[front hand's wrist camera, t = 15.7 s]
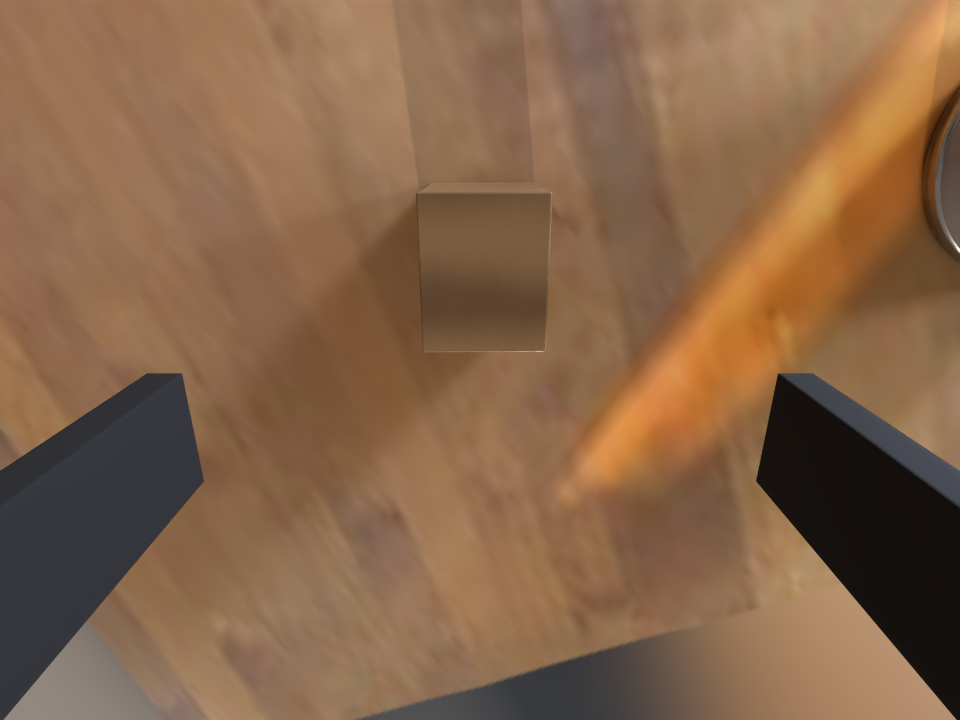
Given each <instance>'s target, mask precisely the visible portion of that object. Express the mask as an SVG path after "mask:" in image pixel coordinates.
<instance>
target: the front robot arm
mask: <svg viewBox="0 0 960 720" xmlns="http://www.w3.org/2000/svg"><path fill="white" fill-rule="evenodd" d="M203 482H204V480H203V475H202V470H201V465H200V460H199V455H198V450H197V445H196V440H195V435H194V430H193V426H192V421H191V416H190V411H189V406H188V401H187V396H186V391H185V386H184V381H183V376H182V374H146V375H144V376H143V377H141V378H140V379H138V380H137V381H135V382H134V383H132V384H131V385H129V386H128V387H126V388H125V389H123V390H122V391H120V392H119V393H117V394H116V395H114V396H113V397H111V398H110V399H108V400H107V401H105V402H103V403H102V404H100V405H99V406H97V407H96V408H94V409H93V410H91V411H90V412H88V413H87V414H85V415H84V416H82V417H81V418H79V419H78V420H76V421H75V422H73V423H72V424H70V425H69V426H67V427H66V428H64V429H63V430H61V431H60V432H58V433H57V434H55V435H54V436H52V437H51V438H49V439H48V440H46V441H45V442H43V443H42V444H40V445H39V446H37V447H36V448H34V449H33V450H31V451H30V452H28V453H27V454H25V455H24V456H22V457H21V458H19V459H18V460H16V461H15V462H13V463H12V464H10V465H9V466H7V467H6V468H4V469H3V470H1V471H0V720H4V718H5V717H6V716H7V715H8V714H9V712H10V711H11V710H12V709H13V708H14V706H15V705H16V704H17V703H18V702H19V700H20V699H21V698H22V697H23V696H24V695H25V693H26V692H27V691H28V690H29V689H30V687H31V686H32V685H33V684H34V683H35V681H36V680H37V679H38V678H39V677H40V676H41V674H42V673H43V672H44V671H45V670H46V668H47V667H48V666H49V665H50V664H51V662H52V661H53V660H54V659H55V658H56V656H57V655H58V654H59V653H60V652H61V651H62V649H63V648H64V647H65V646H66V645H67V643H68V642H69V641H70V640H71V639H72V637H73V636H74V635H75V634H76V633H77V632H78V630H79V629H80V628H81V627H82V626H83V624H84V623H85V622H86V621H87V620H88V618H89V617H90V616H91V615H92V614H93V612H94V611H95V610H96V609H97V608H98V607H99V605H100V604H101V603H102V602H103V601H104V599H105V598H106V597H107V596H108V595H109V593H110V592H111V591H112V590H113V589H114V587H115V586H116V585H117V584H118V583H119V582H120V580H121V579H122V578H123V577H124V576H125V574H126V573H127V572H128V571H129V570H130V568H131V567H132V566H133V565H134V564H135V563H136V561H137V560H138V559H139V558H140V557H141V555H142V554H143V553H144V552H145V551H146V549H147V548H148V547H149V546H150V545H151V543H152V542H153V541H154V540H155V539H156V538H157V536H158V535H159V534H160V533H161V532H162V530H163V529H164V528H165V527H166V526H167V524H168V523H169V522H170V521H171V520H172V518H173V517H174V516H175V515H176V514H177V513H178V511H179V510H180V509H181V508H182V507H183V505H184V504H185V503H186V502H187V501H188V499H189V498H190V497H191V496H192V495H193V493H194V492H195V491H196V490H197V489H198V488H199V486H200V485H201V484H202V483H203ZM756 482H757V483H758V484H759V485H760V486H761V488H762V489H763V490H764V491H765V492H766V493H767V495H768V496H769V497H770V498H771V499H772V501H773V502H774V503H775V504H776V505H777V507H778V508H779V509H780V510H781V511H782V513H783V514H784V515H785V516H786V517H787V518H788V520H789V521H790V522H791V523H792V524H793V526H794V527H795V528H796V529H797V530H798V532H799V533H800V534H801V535H802V536H803V538H804V539H805V540H806V541H807V542H808V543H809V545H810V546H811V547H812V548H813V549H814V551H815V552H816V553H817V554H818V555H819V557H820V558H821V559H822V560H823V561H824V563H825V564H826V565H827V566H828V567H829V568H830V570H831V571H832V572H833V573H834V574H835V576H836V577H837V578H838V579H839V580H840V582H841V583H842V584H843V585H844V586H845V587H846V589H847V590H848V591H849V592H850V593H851V595H852V596H853V597H854V598H855V599H856V601H857V602H858V603H859V604H860V605H861V606H862V608H863V609H864V610H865V611H866V612H867V614H868V615H869V616H870V617H871V618H872V620H873V621H874V622H875V623H876V624H877V625H878V627H879V628H880V629H881V630H882V631H883V633H884V634H885V635H886V636H887V637H888V639H889V640H890V641H891V642H892V643H893V645H894V646H895V647H896V648H897V649H898V651H899V652H900V653H901V654H902V655H903V656H904V658H905V659H906V660H907V661H908V662H909V664H910V665H911V666H912V667H913V668H914V670H915V671H916V672H917V673H918V674H919V676H920V677H921V678H922V679H923V680H924V681H925V683H926V684H927V685H928V686H929V687H930V689H931V690H932V691H933V692H934V693H935V695H936V696H937V697H938V698H939V699H940V700H941V702H942V703H943V704H944V705H945V706H946V708H947V709H948V710H949V711H950V712H951V714H952V715H953V716H954V717H955V718H956V720H960V471H959V470H957V469H956V468H954V467H953V466H951V465H950V464H948V463H947V462H945V461H944V460H942V459H941V458H939V457H938V456H936V455H935V454H933V453H932V452H930V451H929V450H927V449H926V448H924V447H923V446H921V445H920V444H918V443H917V442H915V441H914V440H912V439H911V438H909V437H908V436H906V435H905V434H903V433H902V432H900V431H899V430H897V429H896V428H894V427H893V426H891V425H890V424H888V423H887V422H885V421H884V420H882V419H881V418H879V417H878V416H876V415H875V414H873V413H872V412H870V411H869V410H867V409H866V408H864V407H863V406H861V405H860V404H858V403H857V402H855V401H853V400H852V399H850V398H849V397H847V396H846V395H844V394H843V393H841V392H840V391H838V390H837V389H835V388H834V387H832V386H831V385H829V384H828V383H826V382H825V381H823V380H822V379H820V378H819V377H817V376H816V375H814V374H778V376H777V381H776V386H775V391H774V396H773V401H772V406H771V411H770V416H769V421H768V426H767V430H766V435H765V440H764V445H763V450H762V455H761V460H760V465H759V470H758V475H757V479H756Z"/></svg>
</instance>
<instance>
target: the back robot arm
mask: <svg viewBox="0 0 960 720" xmlns="http://www.w3.org/2000/svg"><path fill="white" fill-rule="evenodd" d="M922 191H923V203H924V210H925V214H926V217H927V221H928V223H929V226H930V228H931V230H932V232H933V234H934V236H935V238H936V239H937V241H938V242H939V243H940V245H941V246H942V247H943V248H944V249H945V250H946V251H947V253H948V254H950V255H951V256H952V257H953V258H955V259H956V260H957V261H959V262H960V89H959V90H958V91H957V93H956V94H955V95H954V97H953V98H952V100H951V101H950V103H949V105H948V106H947V108H946V109H945V111H944V113H943V115H942V117H941V119H940V121H939V123H938V125H937V127H936V129H935V132H934V134H933V137H932V139H931V142H930V145H929V148H928V152H927V156H926V160H925V165H924V172H923V183H922Z"/></svg>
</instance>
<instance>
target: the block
mask: <svg viewBox="0 0 960 720" xmlns="http://www.w3.org/2000/svg"><path fill="white" fill-rule="evenodd" d="M416 198H417V222H418V246H419V270H420V295H421V319H422V343H423V352H545V351H546V334H547V310H548V286H549V262H550V238H551V214H552V192H550V191H548V190H547V189H545V188H543V187H541V186H540V185H538V184H536V183H534V182H433V183H432V184H430V185H428V186H427V187H425V188H424V189H422V190H421V191H419V192H417V194H416Z"/></svg>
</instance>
